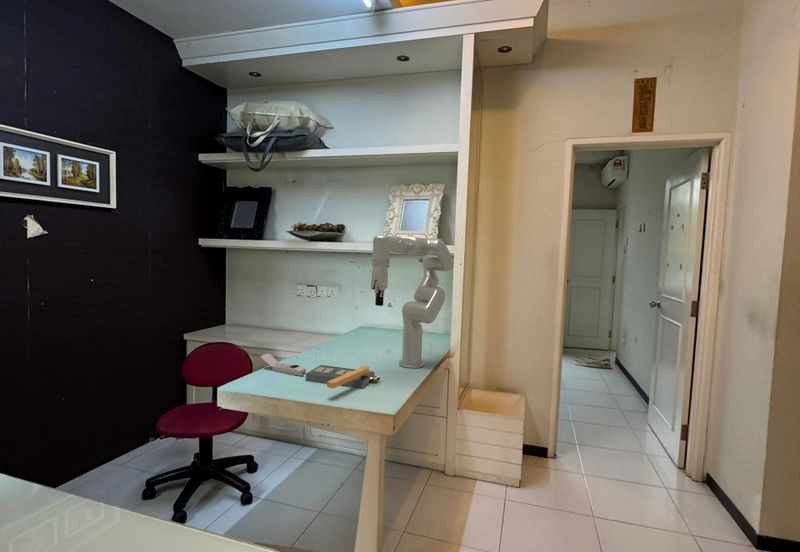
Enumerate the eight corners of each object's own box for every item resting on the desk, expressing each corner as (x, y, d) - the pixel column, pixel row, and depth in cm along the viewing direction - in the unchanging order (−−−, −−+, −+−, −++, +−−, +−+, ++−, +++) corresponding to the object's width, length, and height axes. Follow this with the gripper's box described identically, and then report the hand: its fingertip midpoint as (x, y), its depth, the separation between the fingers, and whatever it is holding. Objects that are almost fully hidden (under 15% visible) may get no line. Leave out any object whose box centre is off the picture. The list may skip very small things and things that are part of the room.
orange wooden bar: (326, 387, 151) (326, 381, 151) (363, 371, 173) (363, 365, 173) (334, 389, 149) (334, 382, 149) (370, 372, 171) (370, 367, 171)
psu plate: (320, 371, 184) (321, 362, 184) (374, 378, 177) (374, 369, 177) (305, 380, 171) (305, 371, 170) (362, 388, 163) (363, 379, 163)
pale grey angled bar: (268, 353, 190) (310, 361, 180) (268, 365, 191) (310, 373, 180) (258, 356, 185) (302, 364, 174) (258, 368, 185) (302, 377, 175)
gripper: (378, 263, 185) (376, 302, 186) (366, 264, 170) (365, 306, 172) (393, 264, 183) (392, 304, 184) (383, 264, 168) (381, 308, 169)
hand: (379, 305), depth 178 cm, fingers closed
